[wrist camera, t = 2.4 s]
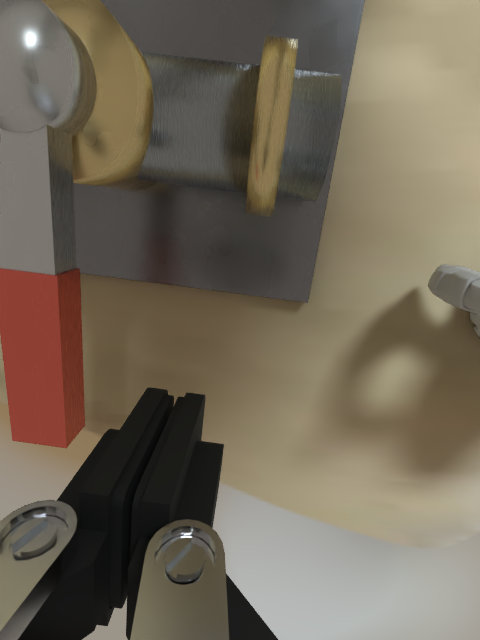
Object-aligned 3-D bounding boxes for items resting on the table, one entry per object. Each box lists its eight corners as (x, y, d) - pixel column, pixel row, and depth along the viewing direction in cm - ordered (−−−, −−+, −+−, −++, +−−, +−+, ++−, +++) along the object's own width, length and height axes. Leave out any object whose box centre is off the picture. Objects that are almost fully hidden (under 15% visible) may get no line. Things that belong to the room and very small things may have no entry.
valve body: (-94, -83, 16) (-376, -314, 9) (367, -33, 16) (456, -235, 9) (-44, 253, 21) (-200, 277, 14) (306, 299, 21) (329, 347, 14)
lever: (-20, 5, 10) (-67, -29, 9) (95, 18, 10) (67, -14, 9) (22, 415, 15) (-5, 438, 14) (101, 426, 15) (83, 450, 14)
